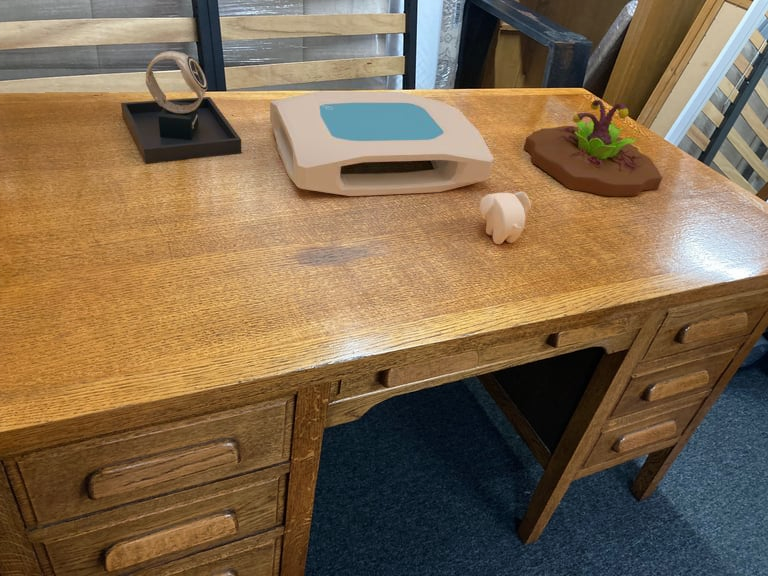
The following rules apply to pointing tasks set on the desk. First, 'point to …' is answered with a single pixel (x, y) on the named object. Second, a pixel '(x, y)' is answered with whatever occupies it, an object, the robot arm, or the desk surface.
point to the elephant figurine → (505, 215)
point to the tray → (207, 139)
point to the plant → (593, 156)
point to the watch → (178, 116)
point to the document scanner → (376, 142)
